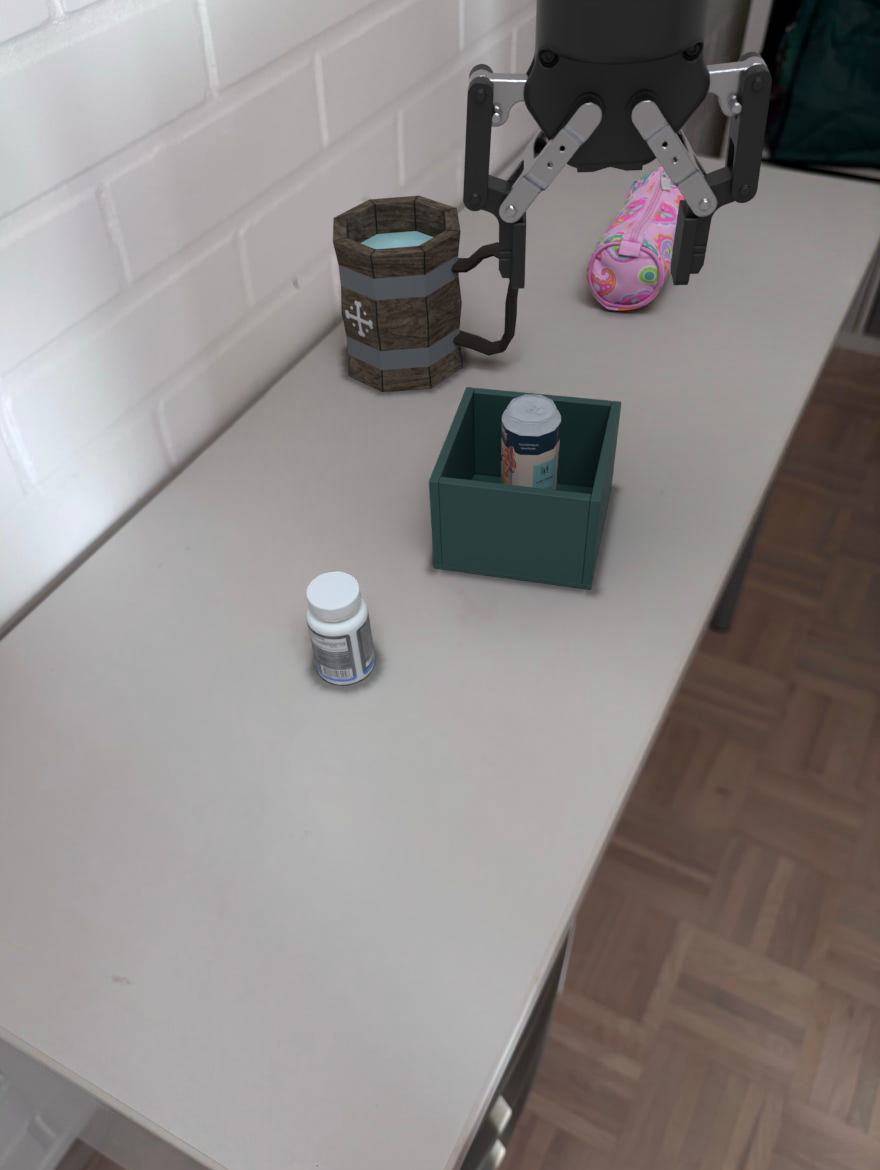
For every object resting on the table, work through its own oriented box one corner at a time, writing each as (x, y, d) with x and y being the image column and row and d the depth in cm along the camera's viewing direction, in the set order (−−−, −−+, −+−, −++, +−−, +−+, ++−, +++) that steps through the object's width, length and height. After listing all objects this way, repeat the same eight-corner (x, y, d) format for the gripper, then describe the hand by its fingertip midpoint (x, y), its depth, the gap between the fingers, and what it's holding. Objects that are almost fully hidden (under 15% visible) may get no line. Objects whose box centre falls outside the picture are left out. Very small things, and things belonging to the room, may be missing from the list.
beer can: (512, 499, 90) (515, 386, 81) (561, 512, 88) (570, 397, 79) (492, 531, 87) (492, 417, 78) (542, 545, 85) (549, 430, 76)
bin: (611, 488, 91) (621, 401, 84) (591, 589, 82) (600, 501, 75) (467, 472, 94) (466, 386, 87) (433, 568, 85) (428, 481, 78)
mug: (324, 382, 106) (305, 248, 95) (371, 319, 114) (358, 189, 103) (499, 410, 100) (501, 271, 89) (534, 342, 109) (540, 206, 98)
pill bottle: (353, 633, 80) (341, 558, 74) (386, 666, 78) (377, 591, 72) (304, 661, 79) (288, 586, 72) (337, 696, 76) (323, 621, 70)
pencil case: (623, 229, 125) (631, 156, 119) (695, 237, 123) (707, 163, 116) (577, 311, 112) (582, 234, 106) (656, 323, 110) (667, 244, 103)
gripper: (455, -54, 39) (463, 319, 51) (827, -77, 38) (745, 313, 49) (461, -98, 44) (467, 251, 56) (789, -119, 43) (723, 244, 54)
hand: (598, 280), depth 53 cm, fingers open, 8 cm apart
